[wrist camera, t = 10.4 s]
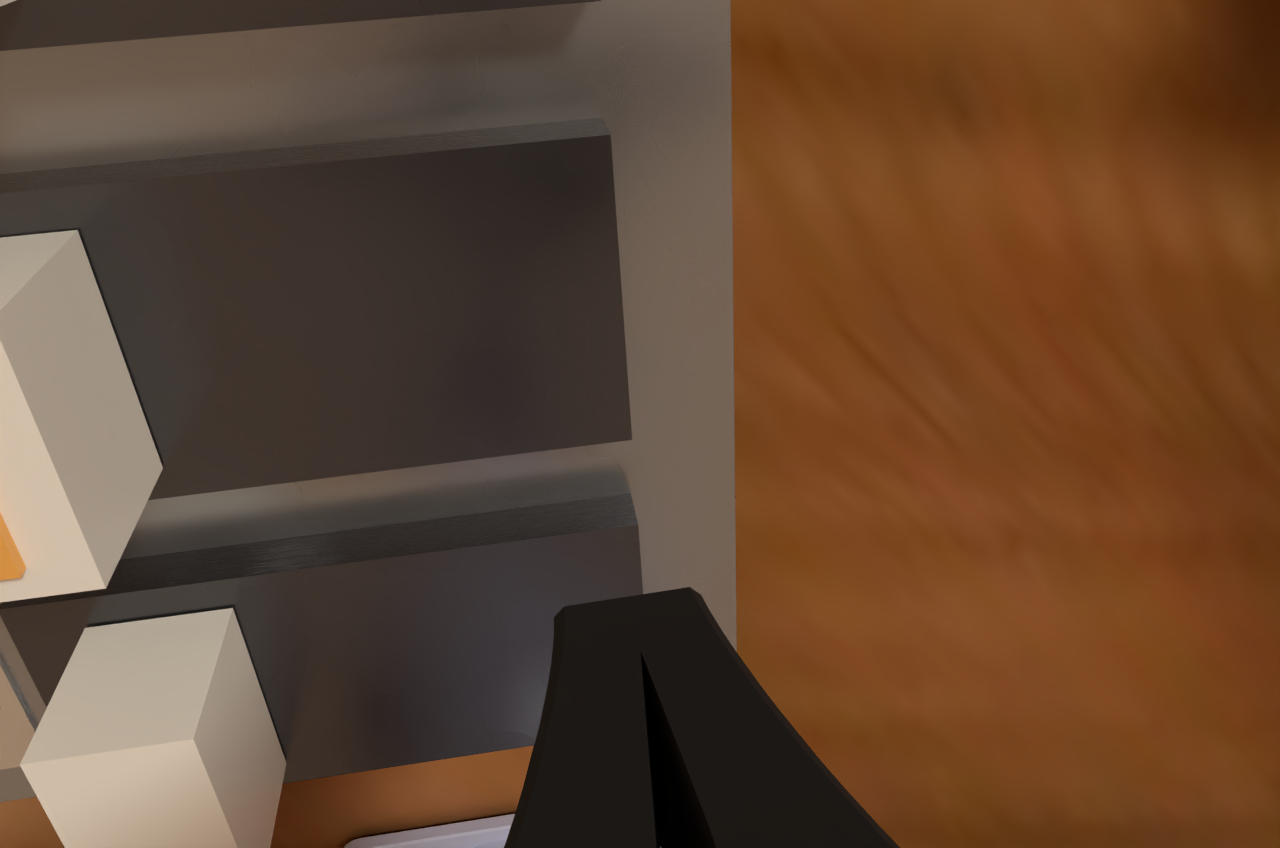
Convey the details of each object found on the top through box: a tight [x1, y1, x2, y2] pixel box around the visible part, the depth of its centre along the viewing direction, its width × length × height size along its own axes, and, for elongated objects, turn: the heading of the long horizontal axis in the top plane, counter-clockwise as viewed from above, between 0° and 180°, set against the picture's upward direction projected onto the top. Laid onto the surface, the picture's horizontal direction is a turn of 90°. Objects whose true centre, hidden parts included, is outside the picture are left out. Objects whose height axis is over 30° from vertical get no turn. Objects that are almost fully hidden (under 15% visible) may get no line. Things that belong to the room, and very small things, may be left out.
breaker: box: [20, 608, 286, 848], centre depth 17 cm, size 4×2×3 cm, turn 3°
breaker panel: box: [0, 0, 736, 802], centre depth 16 cm, size 20×17×2 cm
